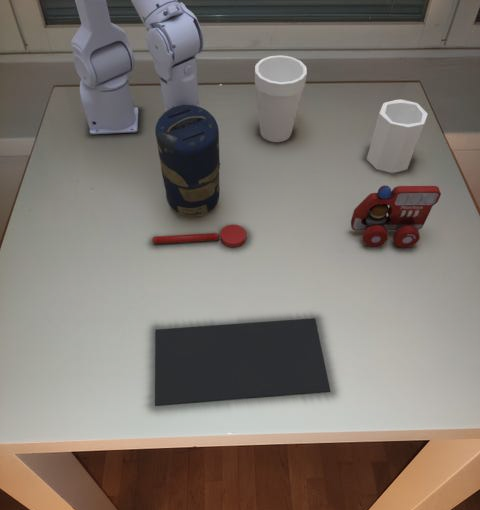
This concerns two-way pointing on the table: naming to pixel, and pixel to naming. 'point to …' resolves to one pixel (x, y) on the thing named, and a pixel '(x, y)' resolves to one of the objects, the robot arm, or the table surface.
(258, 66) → the foam cup
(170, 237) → the spoon
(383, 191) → the toy fire truck
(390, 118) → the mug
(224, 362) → the placemat
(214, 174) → the canister
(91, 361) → the table surface
